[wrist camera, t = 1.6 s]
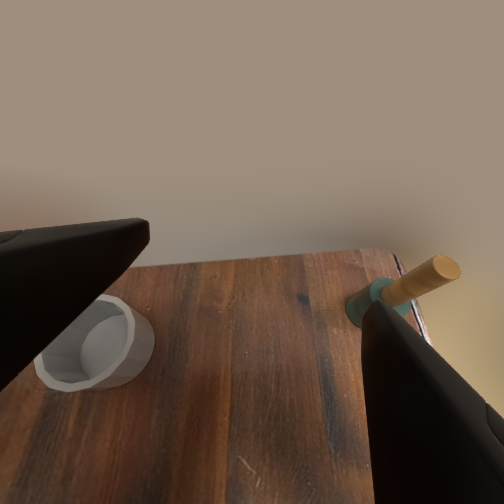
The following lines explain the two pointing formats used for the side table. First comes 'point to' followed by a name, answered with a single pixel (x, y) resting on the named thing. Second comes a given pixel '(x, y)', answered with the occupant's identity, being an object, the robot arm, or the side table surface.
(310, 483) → the side table surface
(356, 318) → the brush
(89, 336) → the white cylindrical cup
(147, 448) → the side table surface
